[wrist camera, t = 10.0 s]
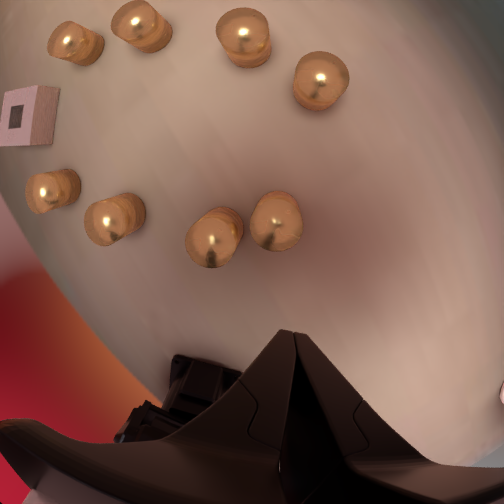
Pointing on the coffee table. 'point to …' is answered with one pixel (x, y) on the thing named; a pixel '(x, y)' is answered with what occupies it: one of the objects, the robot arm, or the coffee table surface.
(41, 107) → the zinc nut
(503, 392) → the cherub figurine
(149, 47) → the spacers
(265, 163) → the coffee table surface
